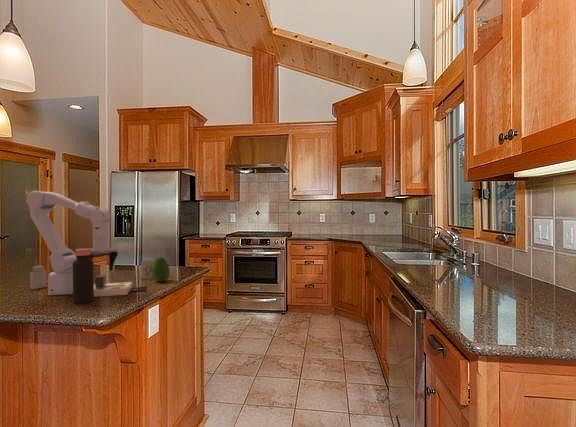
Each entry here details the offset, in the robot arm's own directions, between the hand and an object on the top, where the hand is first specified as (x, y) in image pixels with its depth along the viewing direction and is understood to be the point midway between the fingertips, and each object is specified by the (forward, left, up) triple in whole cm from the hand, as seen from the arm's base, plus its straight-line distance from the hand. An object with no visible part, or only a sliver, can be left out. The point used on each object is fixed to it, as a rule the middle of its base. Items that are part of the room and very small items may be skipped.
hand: (101, 270), depth 137 cm
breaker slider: (0, 0, -6) cm, 6 cm away
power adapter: (-29, +16, -10) cm, 35 cm away
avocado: (+22, +15, -10) cm, 28 cm away
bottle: (-3, -13, -10) cm, 16 cm away
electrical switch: (+16, +26, -10) cm, 32 cm away
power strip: (+7, 0, -9) cm, 12 cm away
